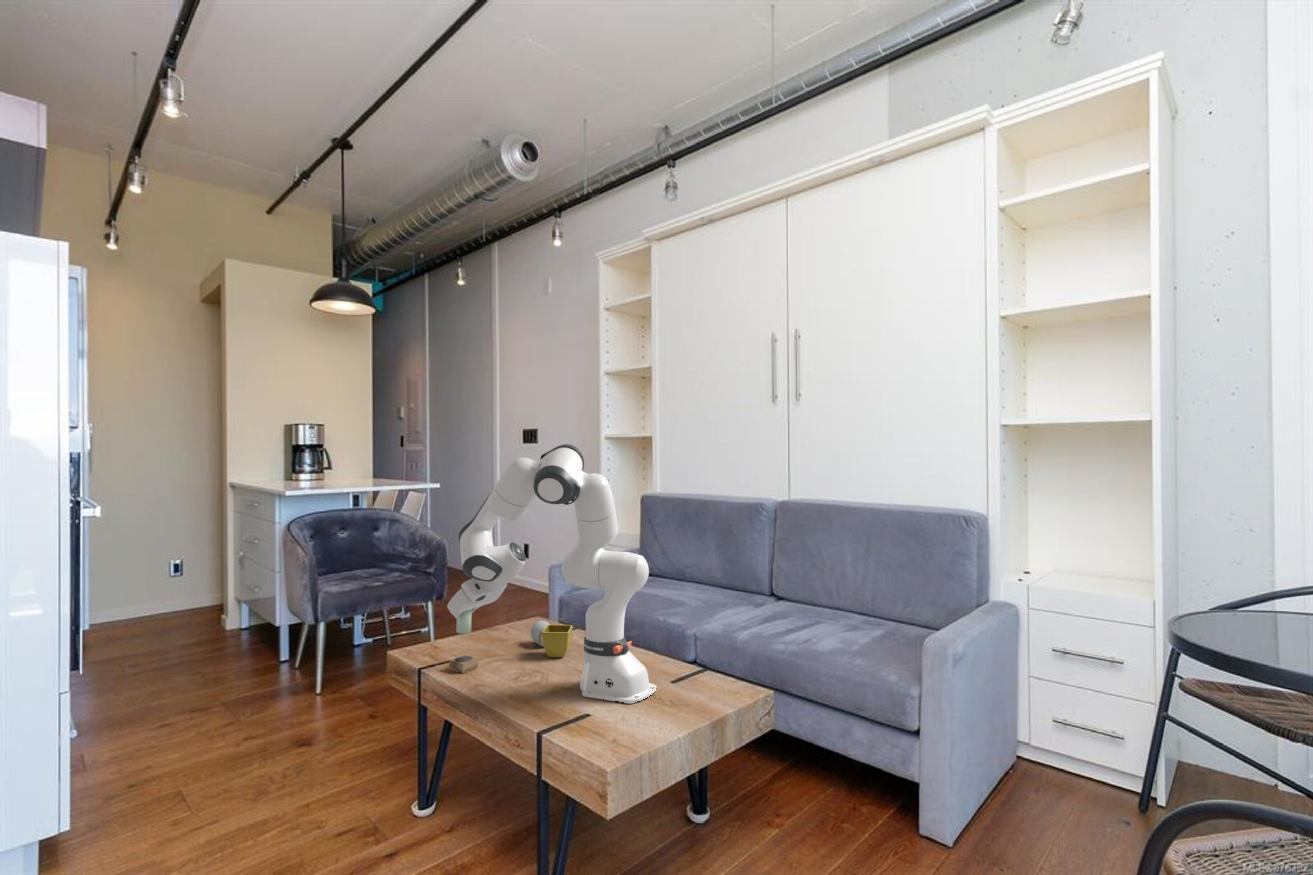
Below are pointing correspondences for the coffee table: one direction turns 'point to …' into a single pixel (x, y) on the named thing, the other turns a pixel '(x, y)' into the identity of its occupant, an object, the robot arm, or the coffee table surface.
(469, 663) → the base
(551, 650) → the flower pot
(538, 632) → the ceramic mug
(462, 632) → the column
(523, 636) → the coffee table surface
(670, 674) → the coffee table surface
